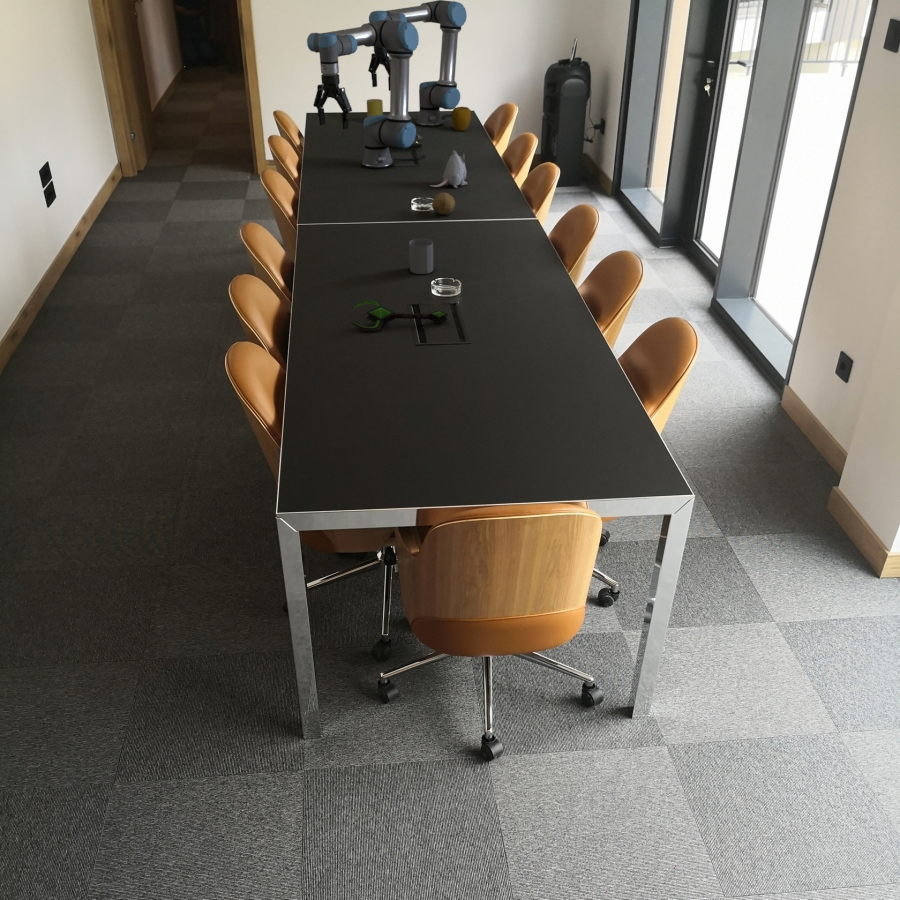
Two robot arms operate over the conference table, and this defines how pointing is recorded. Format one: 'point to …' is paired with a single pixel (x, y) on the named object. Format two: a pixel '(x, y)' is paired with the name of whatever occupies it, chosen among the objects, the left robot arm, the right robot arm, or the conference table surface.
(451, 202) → the potato
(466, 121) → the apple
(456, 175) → the toy
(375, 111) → the canister
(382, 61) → the right robot arm
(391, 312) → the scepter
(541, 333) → the conference table surface
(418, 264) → the cup
